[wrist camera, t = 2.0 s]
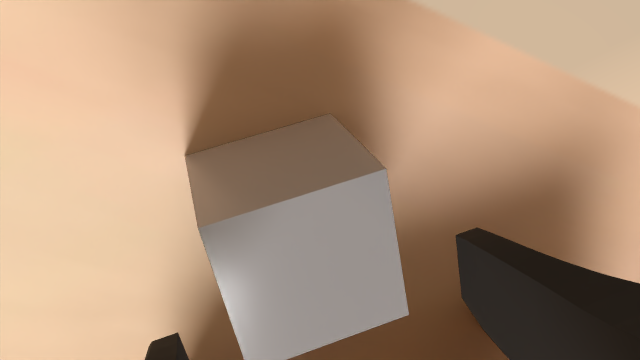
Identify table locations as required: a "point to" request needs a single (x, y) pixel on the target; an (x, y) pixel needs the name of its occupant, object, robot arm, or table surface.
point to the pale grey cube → (298, 237)
